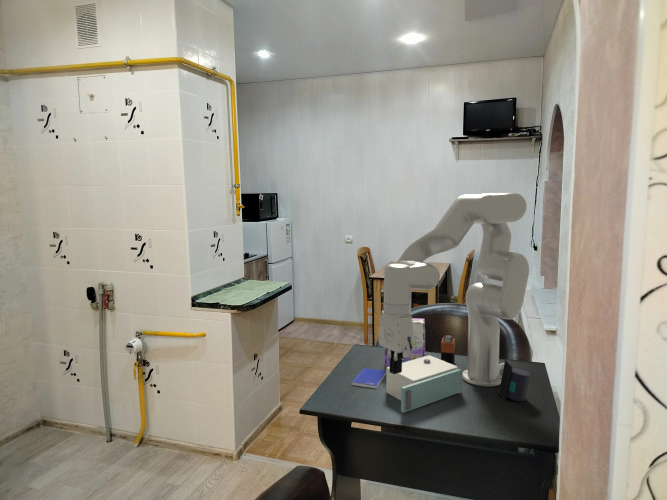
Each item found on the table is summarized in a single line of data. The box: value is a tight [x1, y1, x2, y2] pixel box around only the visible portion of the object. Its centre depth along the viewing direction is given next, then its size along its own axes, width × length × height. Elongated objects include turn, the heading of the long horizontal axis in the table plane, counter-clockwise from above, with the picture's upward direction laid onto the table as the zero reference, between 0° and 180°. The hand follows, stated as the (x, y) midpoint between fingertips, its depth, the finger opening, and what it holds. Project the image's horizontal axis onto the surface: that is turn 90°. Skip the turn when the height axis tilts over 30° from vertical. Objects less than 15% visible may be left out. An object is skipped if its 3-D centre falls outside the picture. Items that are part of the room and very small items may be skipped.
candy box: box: [384, 317, 426, 367], centre depth 159 cm, size 14×6×16 cm, turn 77°
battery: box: [440, 334, 456, 365], centre depth 159 cm, size 4×7×10 cm, turn 162°
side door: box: [400, 368, 463, 414], centre depth 130 cm, size 24×2×7 cm, turn 123°
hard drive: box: [351, 367, 386, 389], centre depth 148 cm, size 2×8×12 cm
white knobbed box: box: [385, 354, 459, 401], centre depth 137 cm, size 19×12×9 cm, turn 123°
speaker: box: [498, 359, 531, 403], centre depth 132 cm, size 8×6×10 cm
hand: (395, 372), depth 127 cm, fingers closed
